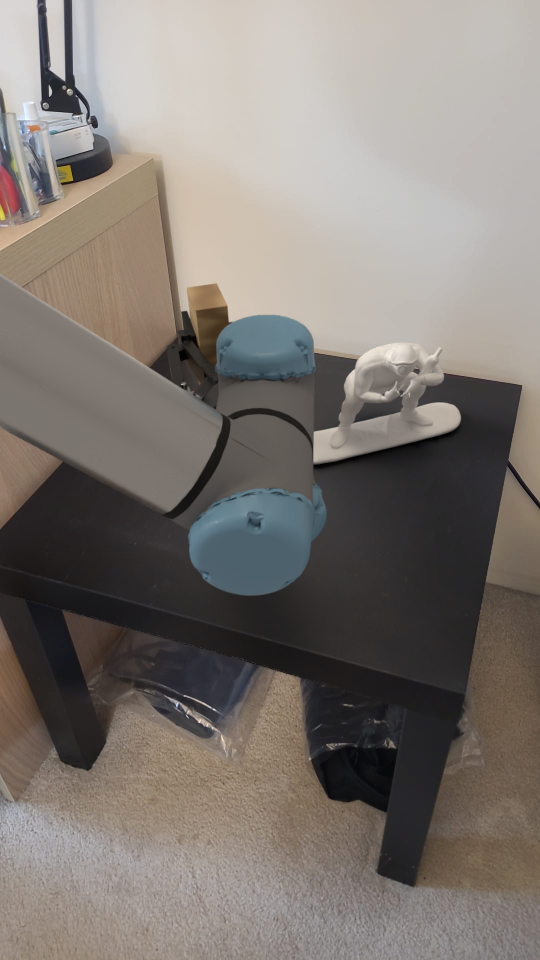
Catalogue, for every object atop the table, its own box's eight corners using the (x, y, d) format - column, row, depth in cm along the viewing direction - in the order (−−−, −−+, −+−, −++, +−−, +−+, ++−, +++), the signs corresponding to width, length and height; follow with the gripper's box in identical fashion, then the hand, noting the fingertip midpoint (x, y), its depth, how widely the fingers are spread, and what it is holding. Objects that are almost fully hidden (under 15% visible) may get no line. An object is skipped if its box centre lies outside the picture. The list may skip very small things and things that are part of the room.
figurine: (308, 492, 87) (309, 380, 76) (274, 435, 96) (271, 327, 85) (483, 447, 93) (508, 336, 82) (436, 397, 102) (452, 292, 91)
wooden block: (206, 407, 84) (195, 310, 75) (197, 382, 88) (186, 287, 80) (235, 402, 84) (227, 305, 76) (224, 377, 89) (216, 283, 80)
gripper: (167, 469, 69) (140, 355, 86) (324, 439, 72) (267, 334, 89) (157, 408, 64) (130, 300, 81) (326, 379, 67) (265, 280, 84)
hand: (202, 318), depth 85 cm, fingers closed on wooden block, 4 cm apart
